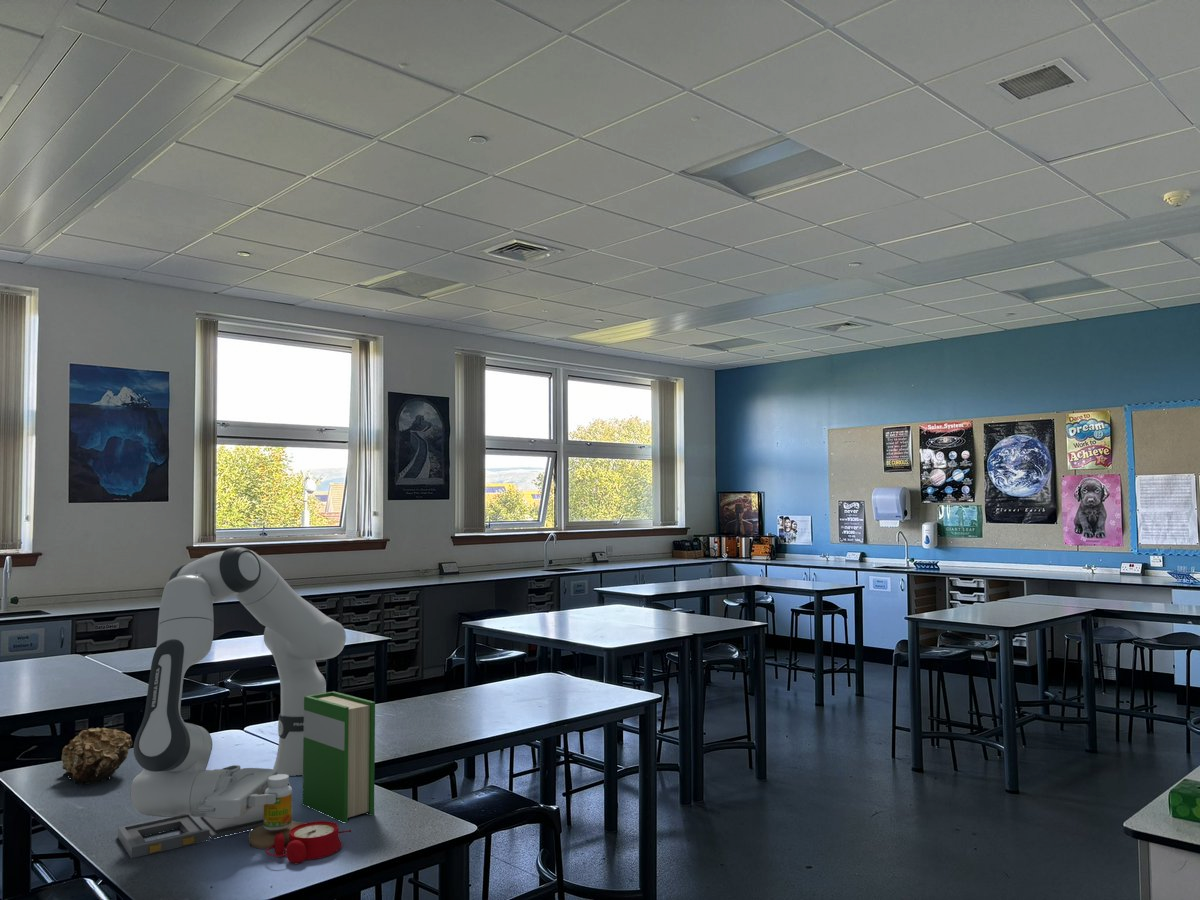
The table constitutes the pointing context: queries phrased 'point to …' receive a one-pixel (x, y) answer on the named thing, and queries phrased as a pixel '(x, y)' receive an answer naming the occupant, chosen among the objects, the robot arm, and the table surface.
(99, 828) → the table surface
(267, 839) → the round brown pad
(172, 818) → the equipment case
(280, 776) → the supplement bottle
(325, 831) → the alarm clock
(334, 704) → the hardback book
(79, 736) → the fossil
